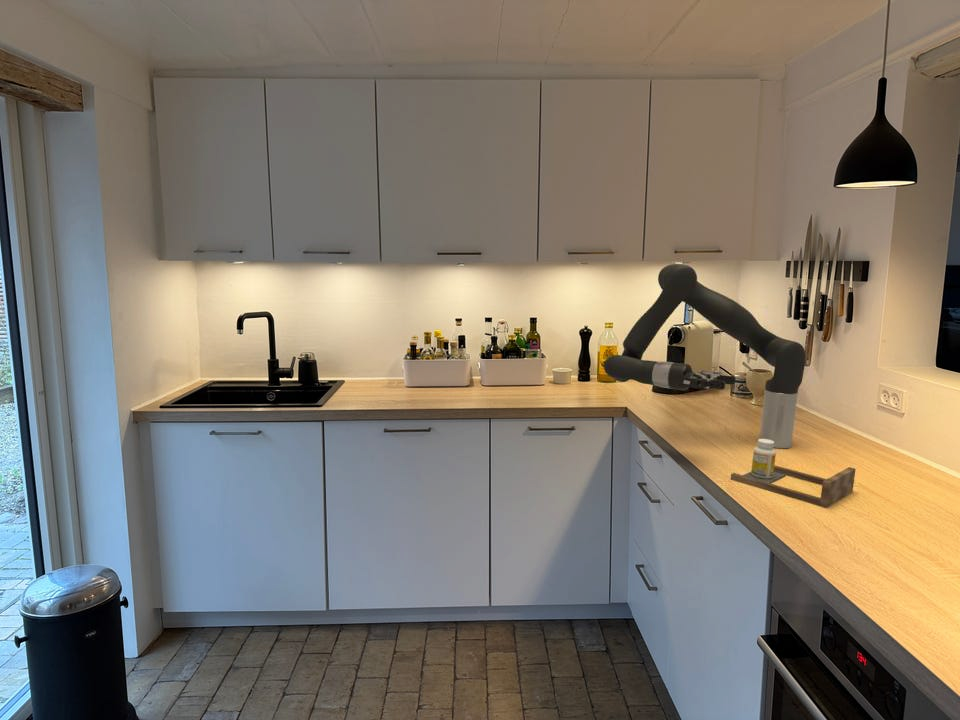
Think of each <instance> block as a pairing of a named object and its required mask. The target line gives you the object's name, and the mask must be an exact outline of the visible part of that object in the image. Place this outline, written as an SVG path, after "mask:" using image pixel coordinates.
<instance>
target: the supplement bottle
mask: <svg viewBox="0 0 960 720" xmlns="http://www.w3.org/2000/svg"><path fill="white" fill-rule="evenodd" d="M756 443H757V446H756V447H754V448H753V455H752V463H751V471H750V472H751V474H752V475H753V476H755V477H758V478H763V479H770V478H772V477H773V472H774V465H776V464H775V462H776V455H777V453H776V451H777V450H775V449H774V441H772V440H768V439H760V438H758V439H757V442H756Z"/></svg>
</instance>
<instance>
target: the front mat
mask: <svg viewBox="0 0 960 720" xmlns="http://www.w3.org/2000/svg"><path fill="white" fill-rule="evenodd" d="M742 475H743V476H746V477H750V478H753V479H757V480H760V481H764V482H767V483H771V484H773V483H775V482H776V481H779V480H781V479H783V478H785V477H787V475H785V474H781V473H777V472H773V477H772V478H770V479H763V478H758V477H755V476H753V475H752V474H751V471H749V472H747V473H745V474H742Z"/></svg>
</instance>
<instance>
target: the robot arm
mask: <svg viewBox="0 0 960 720" xmlns="http://www.w3.org/2000/svg"><path fill="white" fill-rule="evenodd" d="M657 281H658V285H659V286H660V289H661V291H660V294H659V296H658V298H657V299H656V300H655V301H654V302H653V304H652V305H650V307H649V308H648V309H647V310H646V311H645V312H644V313H643V314H642V316H640V318H638V320H637V321H636V322H635V323H634V325H633V326H632V327H631V329H630V330H629V332H628V334H627V335H626V336H625V338H624V340H623V342H622V346H623V351H622V354H621V355H620V354H615V355H611V356H609V357H608V358H606V359H605V361H604V364H603V370H604V372H605V374H606V375H608V377H610V378H612V379H613V380H615V381H617V382H619V383H627V382H629V380H631V381H635V382H638V383H639V384H644V385H649V386H656V387H660V388H665V389H672V390H680V391H687V390H688V389H689V388H692V389H699V390H705V389H707V390H708V389H715V390H716V389H717V390H725V388H726V385H735V384H736V376H735V375H734V376H732V375H724V374H722V372H717V371H716V372H715V371H705V370H697V371H693V370H692V369H693V368H692V366H691V365H690V364H689V363H681V362H680V363H679V362H672V361H658V360H657V361H656V360H646V359H642V358H643V355H644V353H645V352H646V350H647V349H648V347H649V346H650V345H651V343H652V342H653V340H654V338H655V337H656V335H657V334H658V333H659V331H660V329H661V328H662V327H663V326H664V324H665V323H666V322H667V320H668V319H669V318H670V317H671V316H672V314H673V313H674V312H675V311H676V309H677V308H678V307H679V306H680V305H681V304H682V302H683V303H685V304H686V305H688V306H689V307H690V308H692V309H694V310H695V312H697V313H698V314H699V315H701V316H702V317H703V318H704V319H706V320H707V321H708V322H710V323H711V324H712V325H713V326H715V327H716V328H718V329H719V330H721V332H723V333H724V334H726V335H728V336H729V337H731V338H733V339H735V340H736V341H738V342H740V343H742V344H743V345H745V346H747V347H749V348H750V349H751V350H752V351H753V352H755V353H756V355H758V356H759V357H760V358H762V360H764V361H765V362H766V363H767V364H768V365H769V366H771V367H773V368H774V370H773V374H772V375H773V376H772V377H771V378H770V379H767V380H766V381H765V385H764V386H765V387H764V395H763V402H762V403H763V404H762V413H761V424H760V431H759V432H760V434H759V439H768V440H772V441H774V447H773V449H774V448H776V449H791V448H792V447H793V446H792V445H793V437H794V429H795V420H796V411H797V403H798V400H797V399H798V393H799V388H800V386H801V385H802V382H803V379H804V378H803V377H804V373H805V366H806V360H807V359H806V357H807V356H806V349H805V347H804V346H803V345H802V344H801V343H800V342H797V341H795V340H790V339H787V338H786V339H785V338H783V337H780V336H778V335H776V334H774V333H773V332H771V331H769V330H767V329H766V328H764V327H763V326H762V325H761V324H760V322H759V321H758V320H757V319H756V317H755V316H754V315H753V314H752V312H751V311H749V310H748V309H746V308H745V307H744V306H743V305H741V304H740V303H738V302H737V301H735V300H734V299H732V298H729V296H726V295H724V294H722V293H720V292H717V291H715V290H713V289H710V288H708V287H707V286H705V285H703V284H702V283H701V282H699V281H698V275H697V272H696V270H695V269H694V268H693V267H691V266H689V265H687V264H679V263H677V264H676V263H674V264H669V265H665V266H664V267H663V268H661V270H660V271H659V272H658V276H657ZM715 377H716V378H715Z"/></svg>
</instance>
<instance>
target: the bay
mask: <svg viewBox="0 0 960 720" xmlns="http://www.w3.org/2000/svg"><path fill="white" fill-rule="evenodd" d="M856 471H857V469H856V468H855V467H847V468H845V469H843V470H841V471H839V472H838V473H835V474H833V475H832V476H830V477H828V478H823V477H819V476H816V475H814V474H813V475H812V474H809V473H806V472H803V471H802V472H801V471H798V470H794V469H790V468H787V467H783V466H778V465H776V464H774V472H777V473H781V474H785V475H786V477H787V476H788V477H792V478H795V479H799V480H802V481H805V482H809V483H814V484H817V485H821V493H820V497H819V496H815V495H812V494H809V493H805V492H803V491H802V492H801V491H797V490H794V489H791V488H787V487H784V486H782V485H778V484H773V483H767V482H764V481H760V480H757V479H753V478H750V477H746V476H743V475H744V474H739V473H736V472H733V473H731V474H730V480H732V481H734V482H735V481H736V482H739V483H742V484H746V485H749V486H751V487H752V486H753V487H755V488H760V489H762V490H766V491H769V492H772V493H775V494H780V495H783V496H786V497H789V498H792V499H797V500H800V501H802V502H807V503H810V504H813V505H816V506H820V507H823V508H828V507H830V506H831V505H833V504H834V503H836V502H838V501H840V500H841V499H843V498H845V497H846V496H847V495H848V496H849V494H851V493H853V491H854V484H855V476H856Z"/></svg>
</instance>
